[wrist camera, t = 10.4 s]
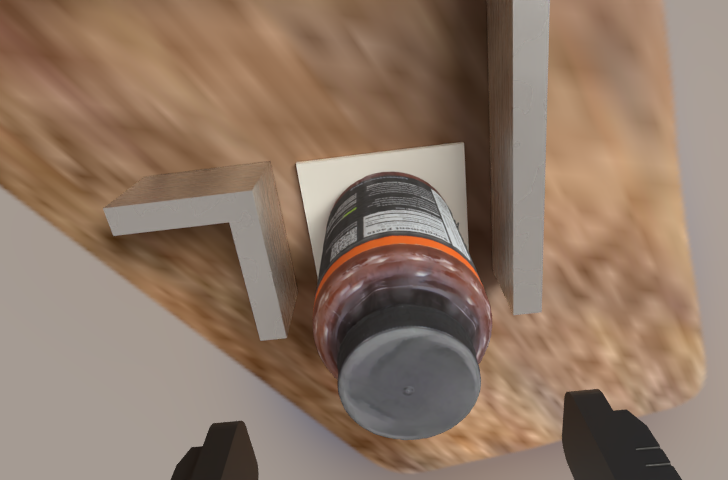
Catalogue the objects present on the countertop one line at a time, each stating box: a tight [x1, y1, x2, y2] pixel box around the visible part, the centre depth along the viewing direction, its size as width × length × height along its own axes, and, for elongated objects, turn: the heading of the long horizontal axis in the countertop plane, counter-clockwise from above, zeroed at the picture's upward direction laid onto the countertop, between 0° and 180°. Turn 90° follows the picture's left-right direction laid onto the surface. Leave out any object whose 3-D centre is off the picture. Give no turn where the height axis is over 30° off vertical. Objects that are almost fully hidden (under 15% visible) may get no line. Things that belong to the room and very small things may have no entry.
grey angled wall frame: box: [103, 0, 550, 341], centre depth 20 cm, size 18×17×4 cm
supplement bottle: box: [313, 172, 492, 440], centre depth 19 cm, size 6×6×11 cm
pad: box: [296, 142, 469, 276], centre depth 24 cm, size 8×8×1 cm
